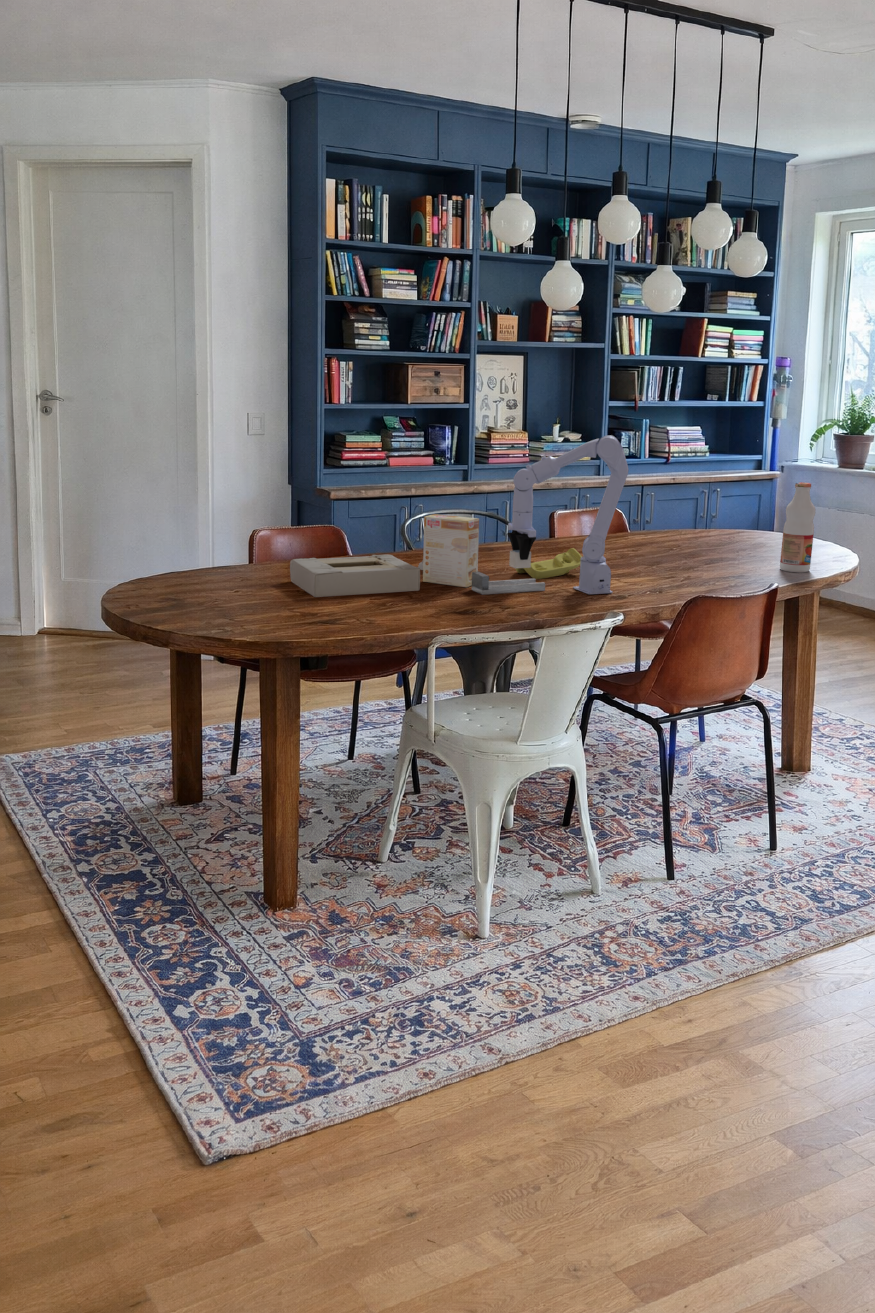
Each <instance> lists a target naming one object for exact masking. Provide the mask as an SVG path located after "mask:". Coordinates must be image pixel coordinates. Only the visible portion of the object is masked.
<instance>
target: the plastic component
mask: <svg viewBox="0 0 875 1313" xmlns="http://www.w3.org/2000/svg"><path fill="white" fill-rule="evenodd" d="M581 557H583V555H582V554H580V552H579V551H577V549H576V548H574V547H572V548H569V549H568V550H567V551H565V552H562V553H559V554H556V556H554V558H551V559H546V560H541V561H539V560H538V561H536V562H535V561H534V562H531V568H515V571H516V572H517V573H518V574H525V573H527V574H528V575H529V576H530V577H531V579H536V580H540V579H547V578H553V577H558V576H563V575H566V574H569V572H570V571H571V570H574V569H577V568H579V567H580V560H581Z"/></svg>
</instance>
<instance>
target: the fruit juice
mask: <svg viewBox="0 0 875 1313" xmlns="http://www.w3.org/2000/svg"><path fill="white" fill-rule="evenodd" d="M794 484H795V485H794V488H795V492H794V495H793V497H792V500H791V501H790V502H789V503H788V504H787V506H786V507H785V517H786V519H785V522H784V524H783V529H782V542H781V550H780V551H781V552H780V561H779V569H780V570H781V571H782V572H783V571H784V572H789V573H808V572H810V570H811V562H812V553H813V544H814V543H813V542H814V533H815V524H814V519H815V516H816V507H815V504H813V502H812V499H811V494H810V491H811V490H812V482H803V481H802V482H795V483H794Z"/></svg>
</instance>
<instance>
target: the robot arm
mask: <svg viewBox="0 0 875 1313" xmlns="http://www.w3.org/2000/svg"><path fill="white" fill-rule="evenodd" d="M597 455H598V457H599V458H600V459H601V460H602V461H603V462H605V464H606V465H607V467H608V468H607V469H609V471H610V476H609V478H608V481H607V485H606V487H605V490H604V493H603V497H602V499H601V502H600V504H599V508H598V511H597V514H596V517H595V519H594V521H593V522H594V523H593V525H592V528H591V529H590V533H589V535H588V536H587V537H585V539H584V540H583V542H582V543H583V544H582V549H581V551H582V557H581V560H580V565H579V579H578V580H579V581H578V582H579V583H578V586H577V585H576V586H573V587H572V589H575V590H577V591H579V592H582V593H584V594H587V595H599V594H600V595H601V594H602V595H603V594H613V591H612V590H611V579H612V570H611V568H610V566H609V565H608V564H607V561H606V560H607V558H606V557H605V556H604V555H605V552H606V550H605V548H606V542H605V541H606V538H607V535H608V533H609V529H610V527H611V523H612V520H613V518H614V514H615V511H616V509H617V506H618V504H619V500H620V498H621V495H622V491H623V489H624V487H625V483H626V481H627V478H628V476H629V466H628V462H627V461H628V460H627V458H626V455H625V451H624V448H623V446H622V444H621V442H620V441H619V440H618V438H617V437H615V436H614V435H612V434H611V435H608V434H607V435H604V436H602V437H600V438H596V439H592V440H590V441H587V442H585V443H583V444H581V445H578V446H577V447H575V448H573V449H571V450H569V451H567V452H565V453H563V454H561V455H559V456H557V457H553V456H551V455H548V456H547V457H546V455H544V456H542V457H541V458H540V460H538V461H536V462H534V463H533V464H527V465H525V468H521V469H519V470H518V471H517V472H516V473H515V475H514V476H513V480H512V481H513V484H514V488H513V495H512V520H511V521H512V522H509V523H507V530H508V531H511V532H507V534H506V535H507V537H508V539H509V541H510V545H511V551H513V550H519V554H520V560H528V557H529V553H530V552H531V550H532V546H533V545H534V543H535V541H536V540H537V530H536V529H535V528H534V526H533V510H534V509H533V508H534V495H533V492H534V487H533V486H534V484H537V485H539V484H541V483H543V482H546V481H547V480H549V479H551V478H554V477H556V476H558V475H559V473H560V470H561V468H564V467H566V466H568V465H570V464H573V463H575V462H578V461H580V460H583V459H584V458H594V459H595V458H597Z"/></svg>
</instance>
